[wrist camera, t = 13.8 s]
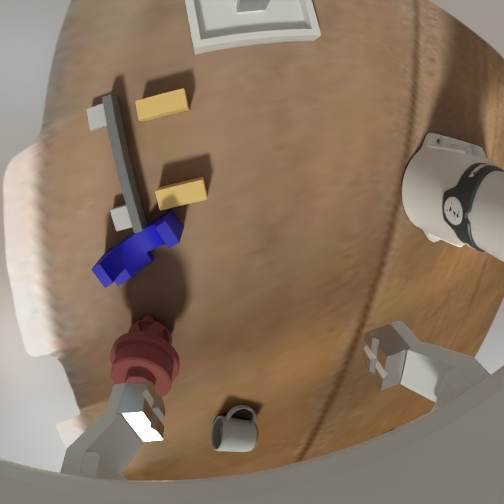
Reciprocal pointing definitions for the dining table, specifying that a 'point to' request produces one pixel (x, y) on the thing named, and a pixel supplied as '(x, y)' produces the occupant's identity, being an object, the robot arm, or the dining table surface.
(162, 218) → the cable clip
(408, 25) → the dining table surface
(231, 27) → the parts tray
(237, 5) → the grey rectangular box
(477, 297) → the dining table surface
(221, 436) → the ceramic mug
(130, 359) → the mechanical component
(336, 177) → the dining table surface
